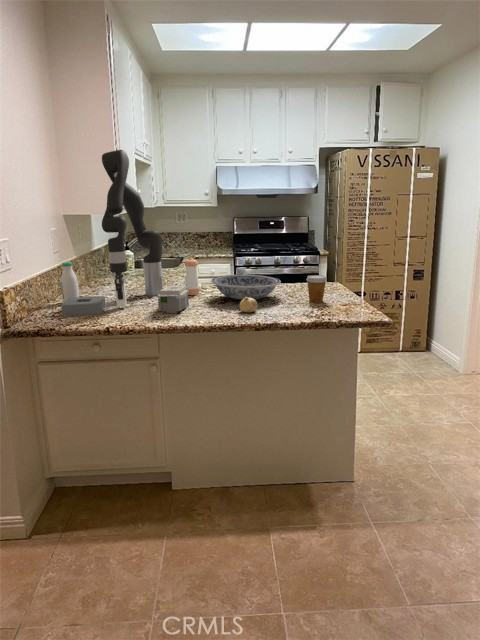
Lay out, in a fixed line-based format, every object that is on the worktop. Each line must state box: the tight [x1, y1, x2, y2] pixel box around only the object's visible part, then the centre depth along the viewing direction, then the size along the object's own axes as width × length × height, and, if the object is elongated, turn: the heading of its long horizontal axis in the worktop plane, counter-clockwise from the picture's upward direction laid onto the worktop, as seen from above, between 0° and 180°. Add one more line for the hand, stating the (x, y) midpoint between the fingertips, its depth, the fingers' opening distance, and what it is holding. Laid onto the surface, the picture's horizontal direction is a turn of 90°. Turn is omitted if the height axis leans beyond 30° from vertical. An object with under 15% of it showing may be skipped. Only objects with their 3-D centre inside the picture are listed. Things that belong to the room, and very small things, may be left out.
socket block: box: [61, 295, 106, 317], centre depth 208 cm, size 16×16×5 cm
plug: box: [113, 278, 128, 307], centre depth 211 cm, size 4×4×12 cm
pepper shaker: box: [183, 257, 200, 296], centre depth 239 cm, size 7×7×19 cm
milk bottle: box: [60, 261, 80, 304], centre depth 224 cm, size 8×8×20 cm
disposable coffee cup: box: [305, 274, 327, 304], centre depth 218 cm, size 10×10×12 cm
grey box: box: [156, 285, 190, 314], centre depth 209 cm, size 12×28×10 cm, turn 178°
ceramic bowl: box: [210, 274, 282, 301], centre depth 227 cm, size 34×34×10 cm
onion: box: [239, 297, 259, 313], centre depth 201 cm, size 8×8×7 cm
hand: (121, 298), depth 212 cm, fingers closed on plug, 4 cm apart
